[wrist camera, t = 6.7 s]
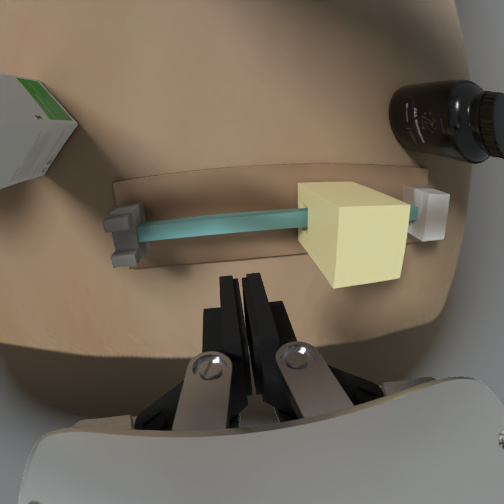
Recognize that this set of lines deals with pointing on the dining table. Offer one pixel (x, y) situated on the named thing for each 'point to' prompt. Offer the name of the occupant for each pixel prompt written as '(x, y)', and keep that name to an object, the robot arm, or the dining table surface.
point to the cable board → (248, 211)
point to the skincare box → (29, 129)
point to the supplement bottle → (449, 120)
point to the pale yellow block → (353, 232)
